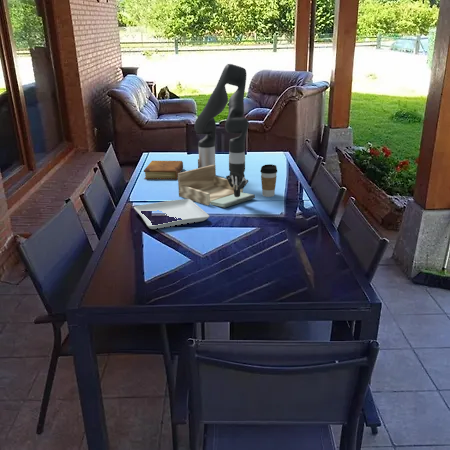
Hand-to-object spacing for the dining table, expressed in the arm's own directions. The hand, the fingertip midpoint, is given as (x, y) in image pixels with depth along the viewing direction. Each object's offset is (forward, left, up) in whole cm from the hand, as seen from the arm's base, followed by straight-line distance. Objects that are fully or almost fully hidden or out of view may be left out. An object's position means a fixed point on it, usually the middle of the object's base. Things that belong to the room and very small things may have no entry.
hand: (237, 196), depth 237 cm
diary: (-69, +10, -4) cm, 70 cm away
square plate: (-8, -34, -4) cm, 35 cm away
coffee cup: (+2, +20, -4) cm, 20 cm away
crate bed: (-18, 0, -4) cm, 18 cm away
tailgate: (-8, 0, -3) cm, 8 cm away
